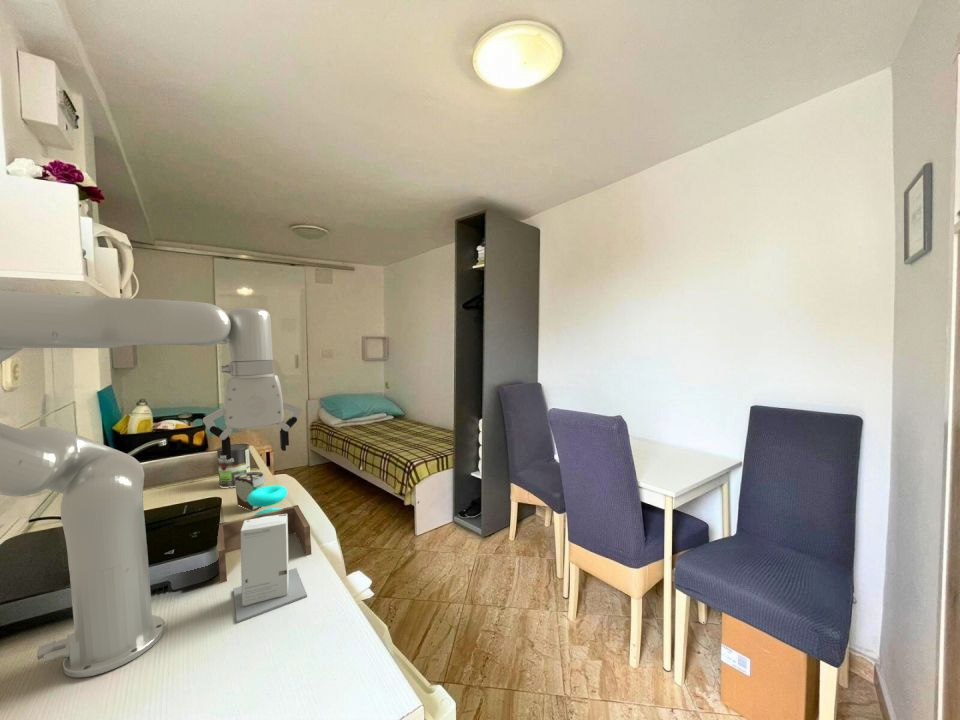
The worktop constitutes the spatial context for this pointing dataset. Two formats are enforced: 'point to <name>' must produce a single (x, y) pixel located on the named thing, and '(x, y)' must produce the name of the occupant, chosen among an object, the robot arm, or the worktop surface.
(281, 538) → the skincare box
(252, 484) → the food container
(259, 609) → the pad
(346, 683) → the worktop surface
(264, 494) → the donuts
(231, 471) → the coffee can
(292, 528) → the wooden open bay
